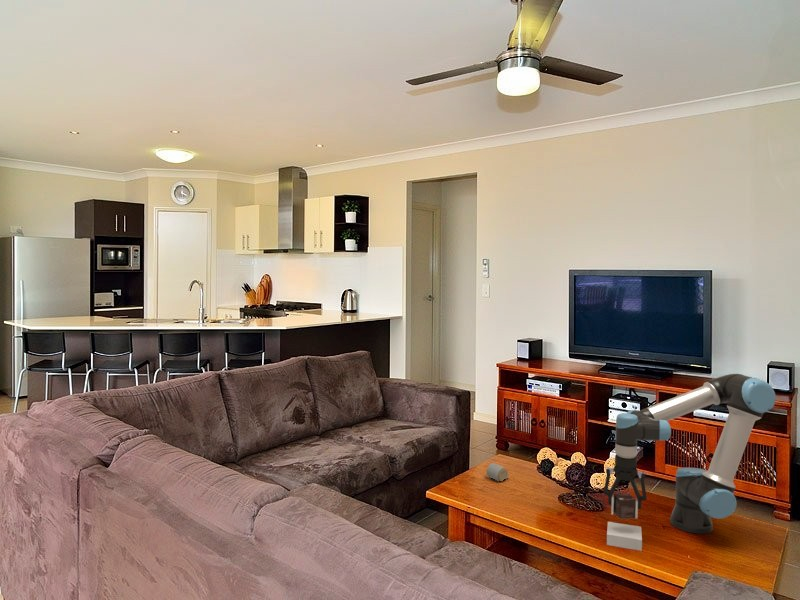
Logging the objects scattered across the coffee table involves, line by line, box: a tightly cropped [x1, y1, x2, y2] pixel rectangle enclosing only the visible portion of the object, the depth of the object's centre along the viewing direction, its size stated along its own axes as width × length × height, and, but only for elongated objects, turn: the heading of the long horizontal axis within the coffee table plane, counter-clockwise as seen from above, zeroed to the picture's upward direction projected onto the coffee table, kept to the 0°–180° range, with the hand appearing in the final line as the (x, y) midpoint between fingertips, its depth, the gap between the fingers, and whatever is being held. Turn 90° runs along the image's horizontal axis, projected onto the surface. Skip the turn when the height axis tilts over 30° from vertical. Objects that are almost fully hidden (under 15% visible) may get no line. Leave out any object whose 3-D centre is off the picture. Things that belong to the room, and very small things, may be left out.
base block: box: [606, 521, 643, 552], centre depth 211 cm, size 12×12×4 cm
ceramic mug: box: [486, 462, 510, 482], centre depth 276 cm, size 11×8×8 cm
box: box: [613, 493, 636, 520], centre depth 211 cm, size 6×6×7 cm
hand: (624, 515), depth 211 cm, fingers closed on box, 8 cm apart
